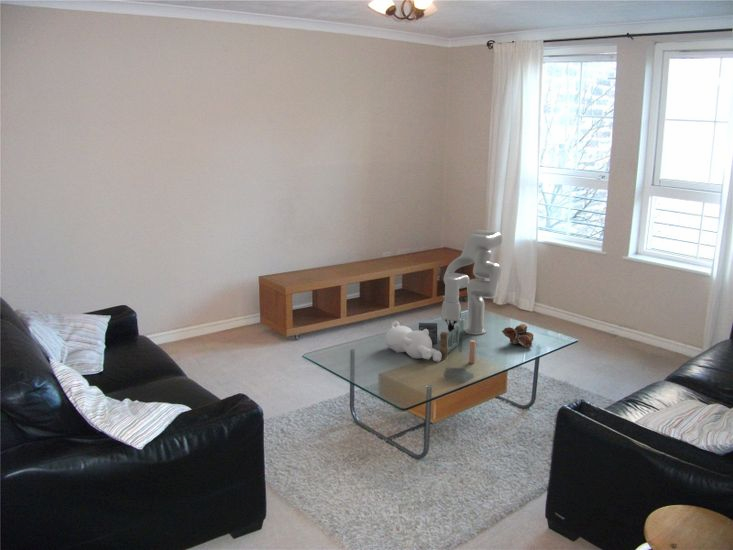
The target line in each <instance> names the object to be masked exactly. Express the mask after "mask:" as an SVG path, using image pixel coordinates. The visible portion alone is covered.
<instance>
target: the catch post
mask: <svg viewBox="0 0 733 550" xmlns="http://www.w3.org/2000/svg"><path fill="white" fill-rule="evenodd" d="M476 341H477V340H475V339H470V340H469V353H468V354H469V357H468V364H472V363H474V362H476V347H477V345H476V343H477V342H476ZM474 364H475V363H474Z"/></svg>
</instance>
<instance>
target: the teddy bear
mask: <svg viewBox="0 0 733 550" xmlns="http://www.w3.org/2000/svg"><path fill="white" fill-rule="evenodd" d="M395 324H396V326H395ZM384 342H385V344H386V346H387V347H388V349H390V350H392V351H395V352H396V354H398V353H407V355H408V356H409V357H411V358H412V359H424V360H430V359H431V358H432V360H433V361H434V362H437V363H438V362H441V360H442V359H441V357H442V354H441V352H440V350H437V349H436V348H435V347H434V348H433V344H432V341H431V338H430V336H429V331H428V330H427V329H424V330H423V331H419V329H417V330H412V329H411V328H410V327H409V326H405V325H400V322H399V321H398V320H393V321H392V323H391V324H390V329H389V330H388V331H387V332H386V335H385V338H384Z"/></svg>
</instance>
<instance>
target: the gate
mask: <svg viewBox="0 0 733 550" xmlns="http://www.w3.org/2000/svg"><path fill="white" fill-rule="evenodd" d="M447 333H448V338H449V337H450V343H448V341H447V345H448V344H450V345H449V346H447V354H448V353H449V352H450V351H451V350H453V349H454V348H455V347H456V346H458V345H459V341H460V326H459V325H457V326H454V329H453V330H451V331H450V332H449V331H448V332H447ZM454 334H455V338H454ZM454 339H455V340H454Z"/></svg>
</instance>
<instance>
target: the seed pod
mask: <svg viewBox="0 0 733 550" xmlns="http://www.w3.org/2000/svg"><path fill="white" fill-rule="evenodd" d="M501 332H502V334H503V335H504V336H505V337H506V338H508V339H509V342H510V343H511V344H513V345H516V344H520V345H522V346H523V347H525V348H526V347H527V348H531V347H532V344H533V343H532V342H533V341H534V334H533V333H532V332H529V331H528V325H527V324H525V323H521V324H519V325H516V326H515V328H514V327H510V326H508V327H505V328H504V329H503V330H501Z"/></svg>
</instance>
